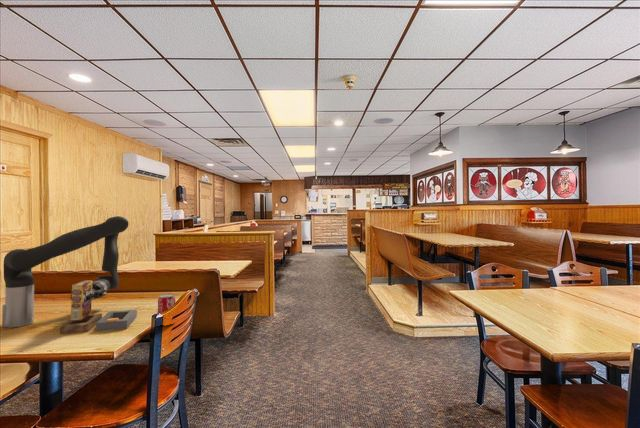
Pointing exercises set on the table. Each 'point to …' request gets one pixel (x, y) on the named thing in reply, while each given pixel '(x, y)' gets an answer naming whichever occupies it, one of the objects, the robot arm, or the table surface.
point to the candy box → (81, 300)
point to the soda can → (165, 302)
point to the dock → (116, 320)
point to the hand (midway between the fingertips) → (80, 298)
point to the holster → (75, 327)
